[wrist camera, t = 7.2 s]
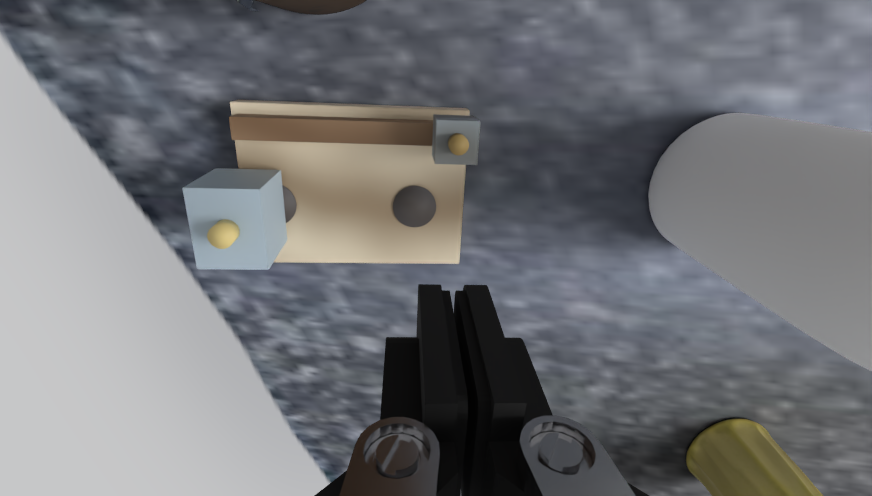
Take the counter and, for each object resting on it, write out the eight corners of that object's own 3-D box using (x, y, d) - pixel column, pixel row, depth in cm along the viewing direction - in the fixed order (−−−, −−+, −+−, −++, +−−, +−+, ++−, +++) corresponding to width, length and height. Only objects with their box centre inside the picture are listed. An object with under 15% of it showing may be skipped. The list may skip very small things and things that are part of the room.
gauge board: (238, 99, 21) (194, 110, 17) (466, 108, 22) (483, 120, 18) (257, 252, 24) (224, 297, 20) (456, 254, 25) (469, 298, 21)
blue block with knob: (215, 168, 21) (172, 193, 17) (280, 169, 21) (253, 195, 17) (226, 239, 22) (188, 277, 18) (287, 239, 23) (263, 277, 19)
